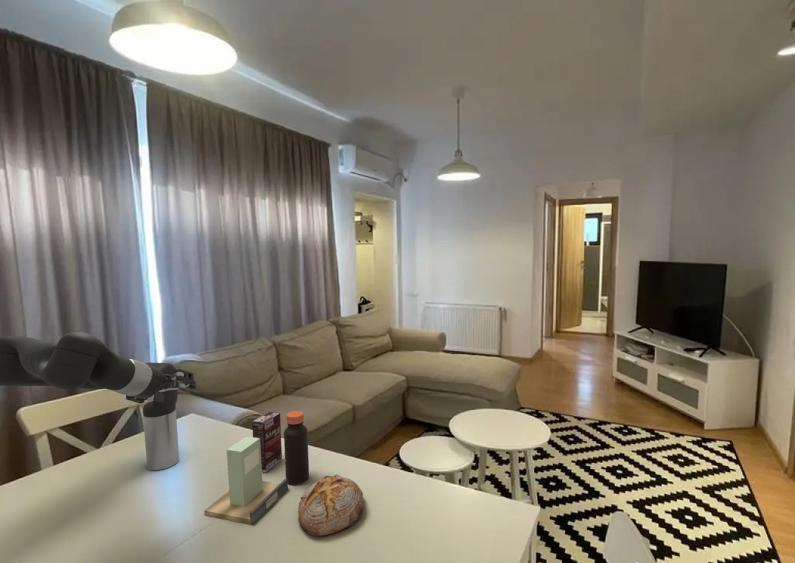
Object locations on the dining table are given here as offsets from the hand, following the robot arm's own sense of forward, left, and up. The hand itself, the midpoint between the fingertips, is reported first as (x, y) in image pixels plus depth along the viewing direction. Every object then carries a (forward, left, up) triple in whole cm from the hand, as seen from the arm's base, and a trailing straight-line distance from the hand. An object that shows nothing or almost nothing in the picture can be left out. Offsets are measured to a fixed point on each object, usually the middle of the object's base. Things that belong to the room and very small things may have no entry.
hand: (178, 391), depth 108 cm
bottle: (+7, +29, -32) cm, 44 cm away
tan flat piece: (+7, +13, -32) cm, 36 cm away
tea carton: (+7, +13, -31) cm, 35 cm away
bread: (+29, +27, -33) cm, 51 cm away
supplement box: (-7, +26, -32) cm, 42 cm away
